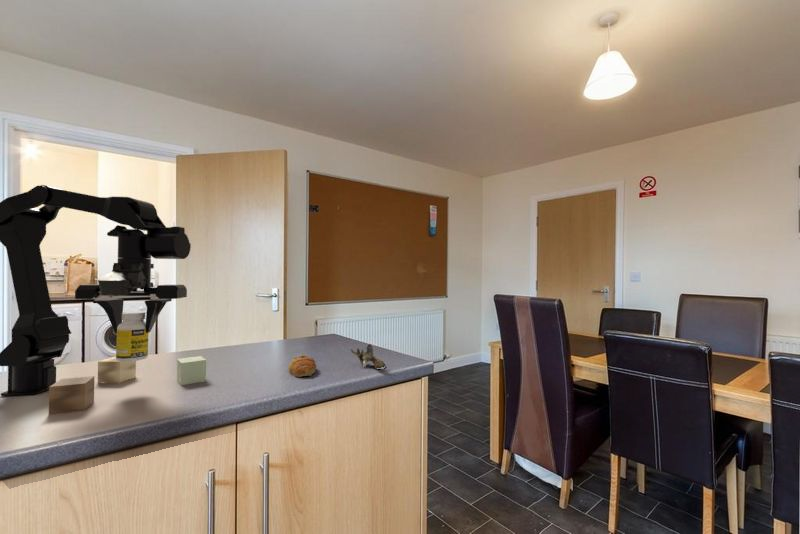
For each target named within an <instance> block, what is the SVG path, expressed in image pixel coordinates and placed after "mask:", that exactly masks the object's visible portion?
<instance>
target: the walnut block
mask: <svg viewBox="0 0 800 534" xmlns="http://www.w3.org/2000/svg"><path fill="white" fill-rule="evenodd" d="M95 377H96V376H95V375H94V376H82V377H81V376H80V377H71V378H61V379H59V380H57V381H56V383H54V384H53V385H51V386H50V387H49V389H48V415H49V416H51V415H59V414H60V415H61V414H66V413H74V412H85V411H86V410H87V409H88V408H89V407H90V406H91V405H92V404H93V403H94V402H95ZM84 410H85V411H84Z"/></svg>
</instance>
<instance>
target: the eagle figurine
mask: <svg viewBox="0 0 800 534" xmlns="http://www.w3.org/2000/svg"><path fill="white" fill-rule="evenodd" d="M365 347H366V351H364V350H363V348H361V351H360V348H357V349H356V351H354V350H353V349H352V348H350V352H351V353H352V354H354V355H355V356H356V357H357V358H358V359H359V361H360V363H362V368H363V367H364V368H365V367H366V366H367V365H368V363H369V362H372V364H373V365H374V368H375V369H376V368H381V367H384V366H386V364H385V363H384V361H383V360H382V359H380V358H379V357H377V356H375V355H374V350H373V349H374V348H373V345H372V344H371V343H370V344H368V345H365Z"/></svg>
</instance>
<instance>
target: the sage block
mask: <svg viewBox="0 0 800 534" xmlns="http://www.w3.org/2000/svg"><path fill="white" fill-rule="evenodd" d="M176 361H177V363H176V365H177V368H176V381H177V382H178V383H179V385H180V386H184V385H185V386H186V385H191V384H195V383H196V384H197V383H203V382H206V381H207V359H206V358H205V357H204V356H202V355H199V356H191V357H182V358H177V359H176Z"/></svg>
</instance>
